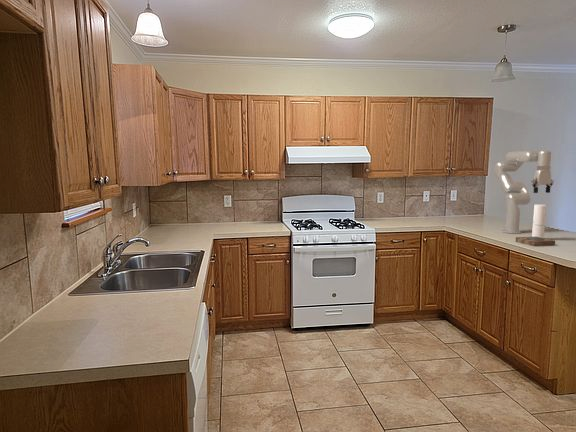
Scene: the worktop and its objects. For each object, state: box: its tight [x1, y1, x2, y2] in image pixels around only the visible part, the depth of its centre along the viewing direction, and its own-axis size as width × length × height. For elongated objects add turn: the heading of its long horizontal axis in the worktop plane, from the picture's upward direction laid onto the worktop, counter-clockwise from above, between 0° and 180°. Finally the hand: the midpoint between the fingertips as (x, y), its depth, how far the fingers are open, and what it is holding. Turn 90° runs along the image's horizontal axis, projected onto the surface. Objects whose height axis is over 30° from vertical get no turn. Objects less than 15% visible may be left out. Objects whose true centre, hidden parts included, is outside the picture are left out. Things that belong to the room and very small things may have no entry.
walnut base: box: [515, 236, 556, 247], centre depth 254 cm, size 16×16×4 cm
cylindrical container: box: [531, 203, 547, 238], centre depth 267 cm, size 7×7×25 cm
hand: (541, 192), depth 264 cm, fingers open, 9 cm apart
